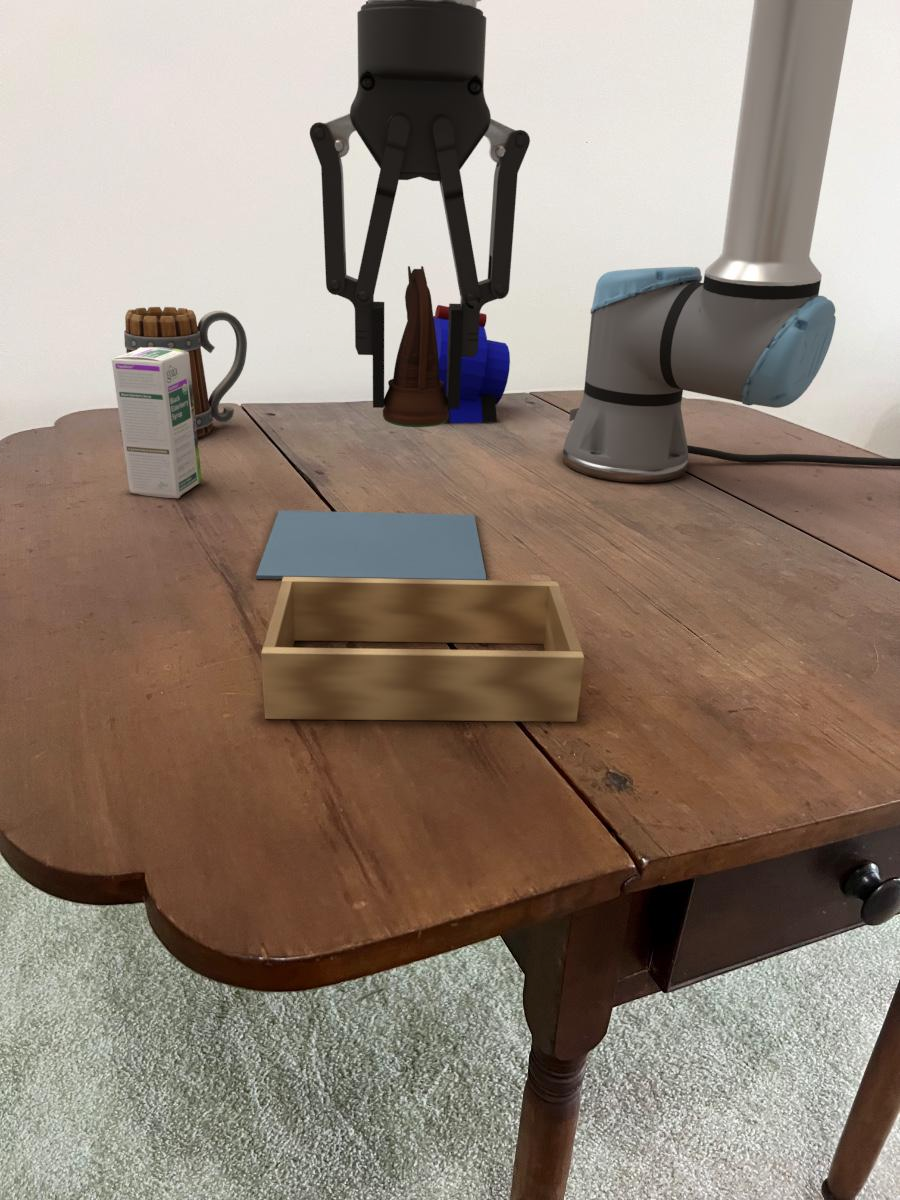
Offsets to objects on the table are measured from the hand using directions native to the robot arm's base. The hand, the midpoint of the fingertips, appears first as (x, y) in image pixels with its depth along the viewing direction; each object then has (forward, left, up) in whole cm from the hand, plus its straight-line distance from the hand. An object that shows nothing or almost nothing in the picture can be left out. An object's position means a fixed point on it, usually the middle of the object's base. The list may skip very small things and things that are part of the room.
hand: (415, 402), depth 63 cm
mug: (+28, -56, -18) cm, 65 cm away
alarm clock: (-8, -69, -18) cm, 72 cm away
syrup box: (+26, -33, -18) cm, 46 cm away
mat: (+3, -18, -18) cm, 26 cm away
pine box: (-1, +6, -18) cm, 19 cm away
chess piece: (0, 0, -1) cm, 1 cm away
